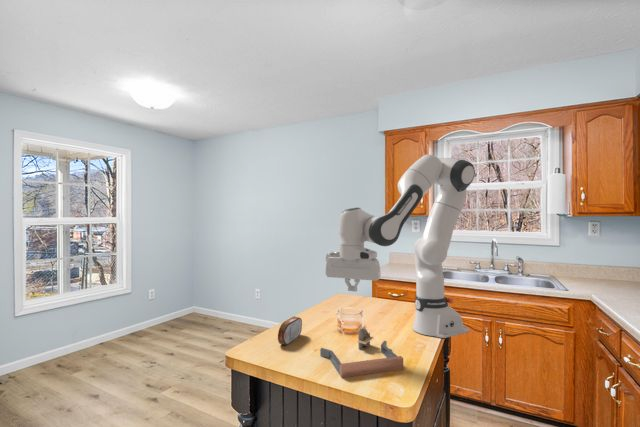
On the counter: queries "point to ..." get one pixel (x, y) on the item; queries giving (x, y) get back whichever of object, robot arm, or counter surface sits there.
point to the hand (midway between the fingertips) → (352, 291)
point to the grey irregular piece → (363, 337)
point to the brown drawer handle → (365, 363)
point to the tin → (289, 330)
